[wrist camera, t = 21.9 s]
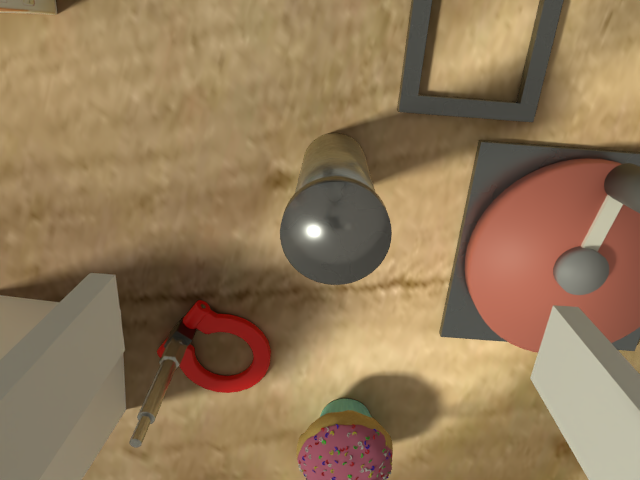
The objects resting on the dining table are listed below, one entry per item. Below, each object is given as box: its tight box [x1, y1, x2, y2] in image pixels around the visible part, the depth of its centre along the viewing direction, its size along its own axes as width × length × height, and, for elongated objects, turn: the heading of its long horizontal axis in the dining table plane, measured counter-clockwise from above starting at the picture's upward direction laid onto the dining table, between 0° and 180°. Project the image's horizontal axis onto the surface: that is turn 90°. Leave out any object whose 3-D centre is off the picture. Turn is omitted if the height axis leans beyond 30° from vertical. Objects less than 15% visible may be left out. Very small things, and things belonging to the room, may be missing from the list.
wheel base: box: [439, 140, 640, 351], centre depth 38 cm, size 17×17×1 cm
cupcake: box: [296, 399, 393, 480], centre depth 40 cm, size 9×8×12 cm
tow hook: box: [129, 300, 271, 447], centre depth 37 cm, size 8×13×9 cm
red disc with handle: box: [465, 158, 640, 352], centre depth 34 cm, size 16×16×7 cm
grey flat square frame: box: [397, 0, 563, 122], centre depth 31 cm, size 10×10×1 cm
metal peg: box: [280, 133, 392, 285], centre depth 29 cm, size 5×5×14 cm
